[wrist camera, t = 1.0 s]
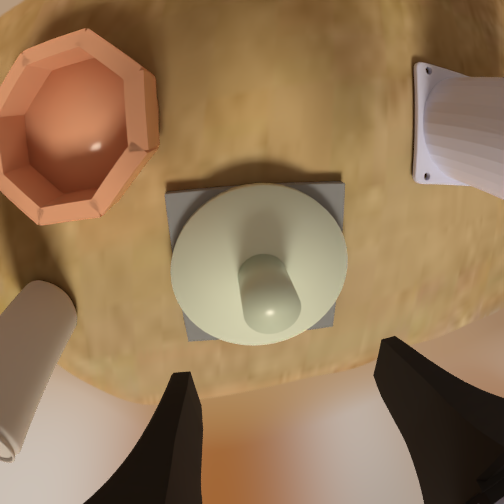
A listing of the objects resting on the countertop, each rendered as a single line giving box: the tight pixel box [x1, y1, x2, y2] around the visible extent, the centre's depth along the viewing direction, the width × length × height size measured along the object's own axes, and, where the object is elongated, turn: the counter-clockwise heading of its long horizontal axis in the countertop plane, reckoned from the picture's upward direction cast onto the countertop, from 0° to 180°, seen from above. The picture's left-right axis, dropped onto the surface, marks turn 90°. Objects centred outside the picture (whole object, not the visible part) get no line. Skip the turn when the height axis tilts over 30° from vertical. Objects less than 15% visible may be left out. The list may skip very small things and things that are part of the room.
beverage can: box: [0, 280, 77, 463], centre depth 13 cm, size 5×5×12 cm
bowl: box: [0, 28, 160, 226], centre depth 13 cm, size 9×9×4 cm
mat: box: [165, 181, 345, 341], centre depth 19 cm, size 10×10×1 cm
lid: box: [171, 183, 348, 345], centre depth 17 cm, size 10×10×4 cm
